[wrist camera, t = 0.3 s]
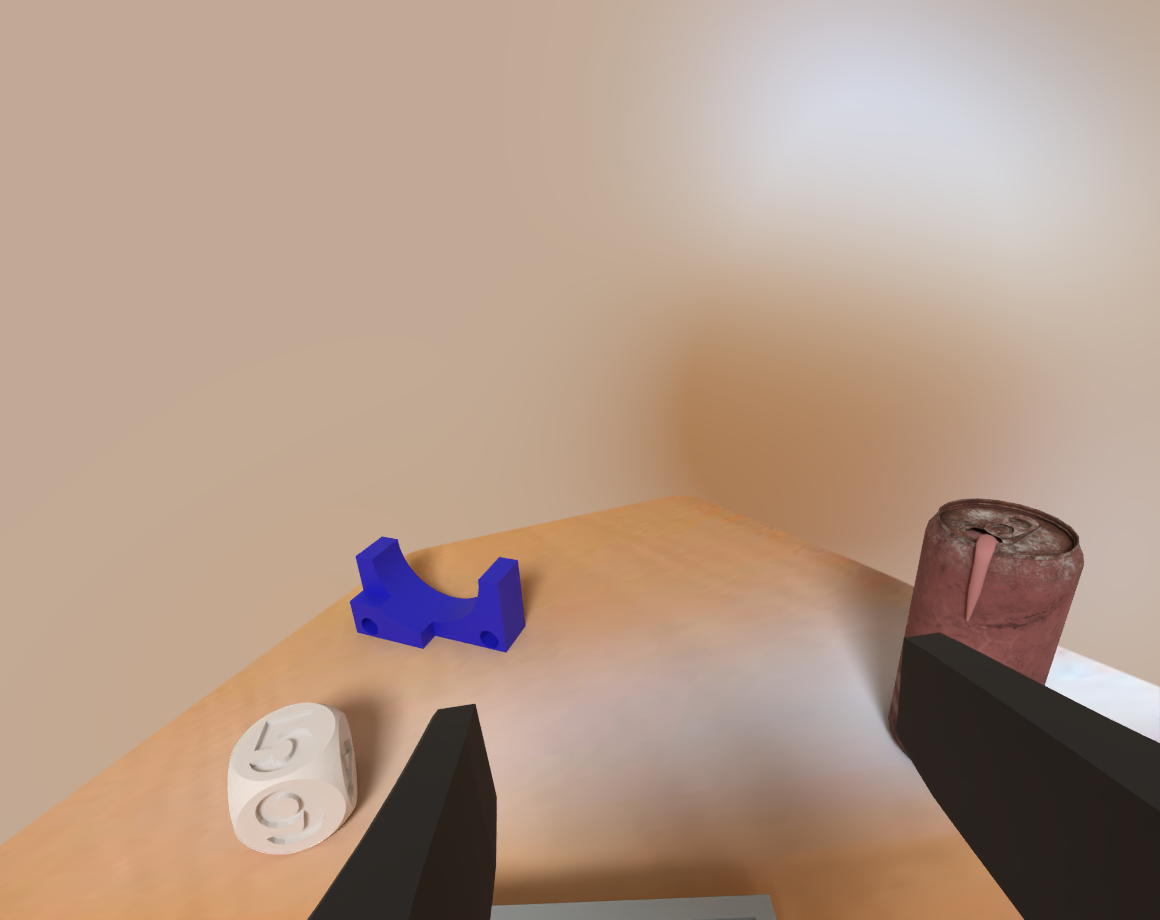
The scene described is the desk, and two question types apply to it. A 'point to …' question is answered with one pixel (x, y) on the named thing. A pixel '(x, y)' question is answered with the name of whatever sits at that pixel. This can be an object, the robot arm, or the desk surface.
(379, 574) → the blue curved piece
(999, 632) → the can
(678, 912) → the tray
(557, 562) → the desk surface
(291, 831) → the die
